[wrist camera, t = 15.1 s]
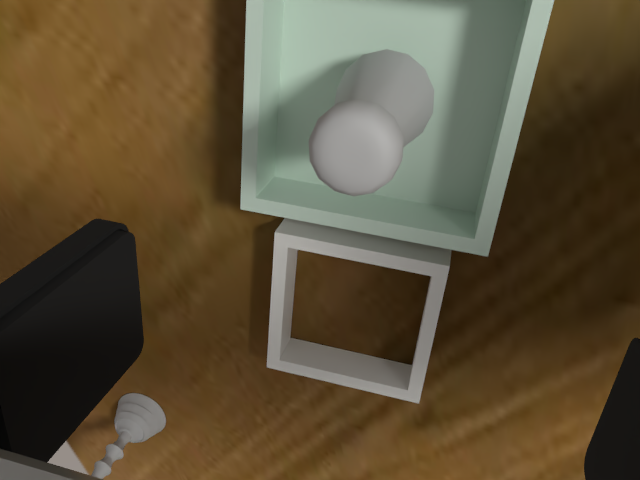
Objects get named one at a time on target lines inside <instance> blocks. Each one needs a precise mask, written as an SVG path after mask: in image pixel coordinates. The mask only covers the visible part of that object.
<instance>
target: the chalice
mask: <svg viewBox="0 0 640 480" xmlns="http://www.w3.org/2000/svg"><path fill="white" fill-rule="evenodd" d="M114 423H115V429H116V431H117V433H118V434H119V437H118V440H117V441H115V442H114V443H113V444H109V445H107V446H106V455H105V457H104V458H103V459H102V460H100V461H97V462H96V463H95V469H94V471H93V473H92V475H91V476H93V477H97V478H100V479H103V478H104V477H105V476H107V475H109V474H110V473H111V466H112V463H113V462H114V461H116V460H118V459H121V458H123V449H124V447H125V445H126V444H127V443H128V442H133V443H138V442H144V441H146V440H147V439H148V438H150V437H152V436H154V435H155V434H156V433H158V432H160V431H162V430H163V428H164V427H165V424H166V418H165V414H164V412H163V410H162V408H161V407H160V406H159V405H158V404H157V403H156V402H155V401H153V400H152V399H151V398H149V397H147V396H145V395H142V394H137V393H130V394H126V395H124V396H122V397H121V399H120V400H119V402H118V409H117V411H116V417H115V421H114Z"/></svg>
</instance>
